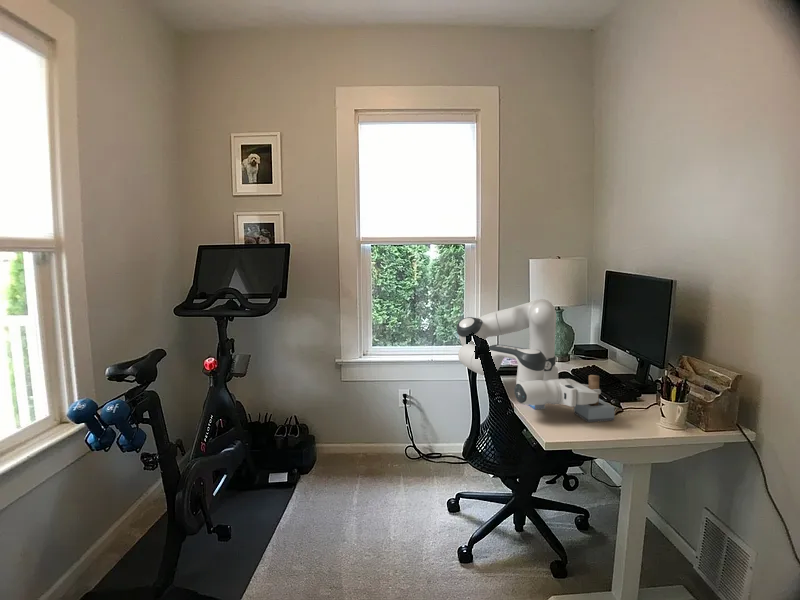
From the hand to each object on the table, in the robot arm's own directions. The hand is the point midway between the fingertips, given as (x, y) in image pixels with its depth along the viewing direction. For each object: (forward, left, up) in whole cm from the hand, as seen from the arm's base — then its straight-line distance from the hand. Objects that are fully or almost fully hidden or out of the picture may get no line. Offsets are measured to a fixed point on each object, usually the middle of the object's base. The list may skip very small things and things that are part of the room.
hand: (596, 389), depth 176 cm
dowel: (0, -1, -7) cm, 7 cm away
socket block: (0, 0, -10) cm, 10 cm away
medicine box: (-15, -16, -11) cm, 25 cm away
